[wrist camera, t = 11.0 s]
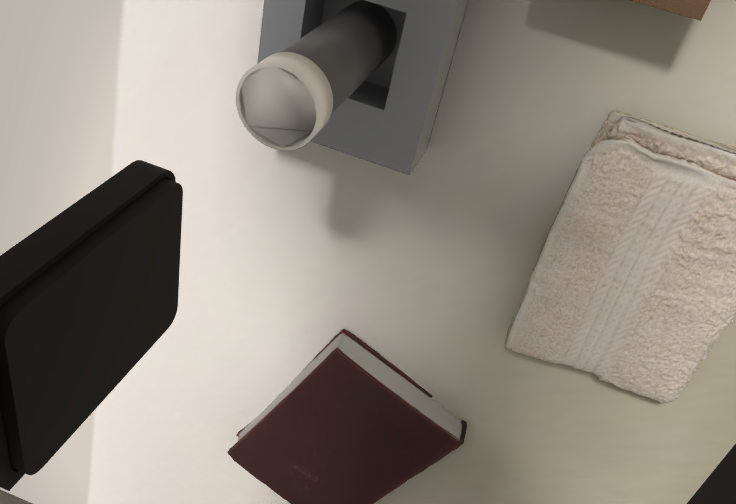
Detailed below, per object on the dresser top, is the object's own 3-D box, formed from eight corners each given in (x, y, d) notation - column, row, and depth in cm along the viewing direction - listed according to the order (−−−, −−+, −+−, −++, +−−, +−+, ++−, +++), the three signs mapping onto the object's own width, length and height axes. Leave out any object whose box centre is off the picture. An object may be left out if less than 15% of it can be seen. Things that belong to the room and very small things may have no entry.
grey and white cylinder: (340, -11, 38) (240, 51, 29) (406, 9, 38) (326, 79, 28) (329, 56, 41) (232, 134, 31) (391, 76, 40) (312, 162, 30)
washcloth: (822, 161, 36) (835, 187, 34) (674, 391, 47) (676, 424, 44) (600, 96, 38) (597, 116, 36) (505, 331, 49) (498, 359, 46)
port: (306, -108, 37) (271, -98, 34) (483, -56, 36) (466, -41, 32) (279, 97, 44) (248, 123, 41) (426, 147, 43) (407, 178, 39)
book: (472, 420, 54) (463, 451, 52) (342, 509, 66) (329, 538, 63) (348, 321, 53) (333, 348, 51) (238, 430, 65) (221, 456, 62)
